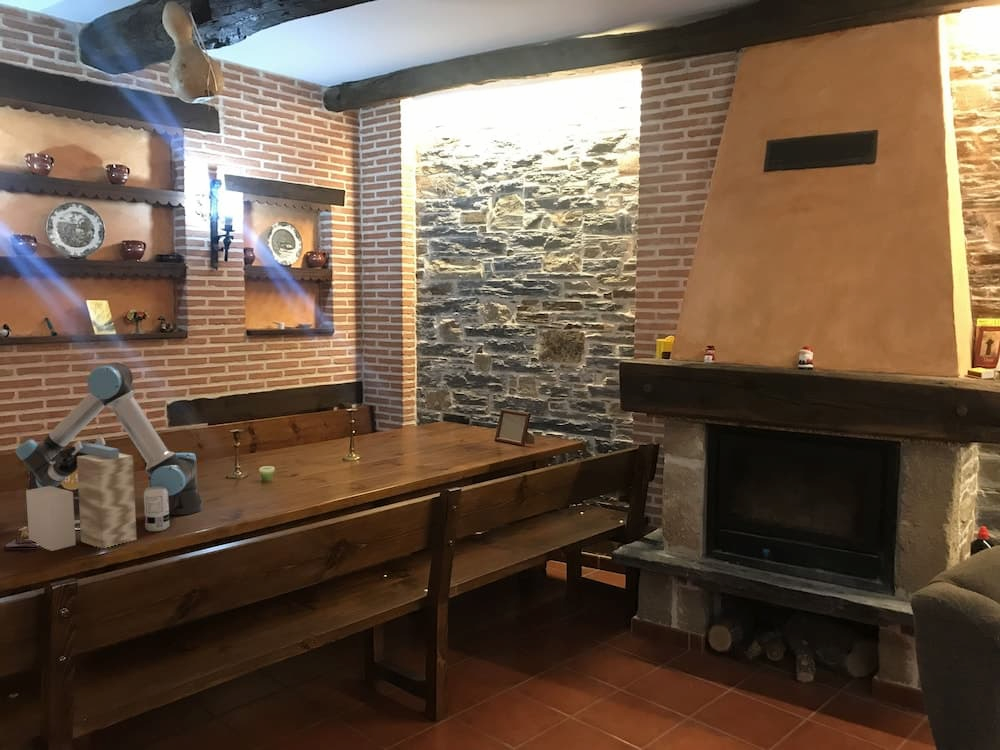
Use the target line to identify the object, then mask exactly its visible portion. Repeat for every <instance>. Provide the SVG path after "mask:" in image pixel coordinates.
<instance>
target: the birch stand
mask: <svg viewBox="0 0 1000 750" xmlns="http://www.w3.org/2000/svg"><path fill="white" fill-rule="evenodd" d="M134 469H135V468H134V455H133V454H132V455H131V454H126V453H121V452H119V458H114V459H108V458H104V457H99V456H94V455H90V454H89V455H83V456H77V470H76V472H77V486H78V487H77V488H78V507H79V527H80V530H79V531H80V542H82V543H84V544H87V545H89V546H90V545H91V546H93V547H96V546H97V547H96V548H99V547H100V548H99V549H102V548H105V549H108V548H107V547H109V548H112V547H111V546H113V547H115V546H114V545H116V546H119V545H118V544H120V545H122V543H124V544H126V542H127V543H130V541H131V542H134V540H135V541H137V539H138V538H137V524H136V523H137V520H136V519H137V516H136V495H135V492H136V491H135V475H134Z"/></svg>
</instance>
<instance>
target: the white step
mask: <svg viewBox="0 0 1000 750" xmlns="http://www.w3.org/2000/svg"><path fill="white" fill-rule="evenodd" d="M25 495H26V497H25V498H26V511H27V512H26V514H27V515H26V516H27V529H28V531H27V532H28V540H29V539H30V540H32V541H34V542H36V543H38V544H39V545H40V546H41V547H40V548H42V547H43V548H42V549H46V550H47V551H52V552H53V551H59V550H60V549H65V548H69V547H73V546H76V530H75V529H76V526H75V507H74V506H75V505H74V504H75V503H74V492H73V491H71V490H66V489H62V488H59V487H53V486H46V487H41V488H39V487H37V488H31V489H26V490H25Z"/></svg>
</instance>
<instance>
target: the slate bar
mask: <svg viewBox="0 0 1000 750" xmlns="http://www.w3.org/2000/svg"><path fill="white" fill-rule="evenodd" d="M76 442H77V441H76ZM76 442H73V445H74V444H75V443H76ZM80 442H81V444H82V447H83V448H82V449H80V450H79V451H78V452H81V453H85V454H90V455H94V456H99V457H104V458H108V459H114V458H119V453H120V450H119V448H116V447H111V446H106V445H104V446H102V445H97V444H94V443H91V442H87V441H81V440H80ZM78 452H77V453H78Z"/></svg>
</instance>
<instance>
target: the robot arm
mask: <svg viewBox="0 0 1000 750" xmlns="http://www.w3.org/2000/svg"><path fill="white" fill-rule="evenodd" d="M133 381H134V375H133V371H132V370H131V369H130V368H129V366H127V365H125V363H124V364H123V363H121V362H112V363H109V364H105V365H104V364H103V365H101V366H98V367H97V368H95V369H93V370H92V371H91V372H90V373H89V375H88V377H87V382H86V384H87V389H88V391H89V393H88V394H87V395H85V397H84V398H83V399H82V400H81V401H80V402H79V403H78V404H77V405H76V406H75V407H74V408H73V409H72V410H71V411H70V412H69V413H68V414H67V415H66V416H65V417H63V419H62V420H61V421H60V422H59V423H58V424H57V425H56V426H55V427H54V428H53V429H52V430H51V431H50V432H49V433H48V434H47V435H46V436H45V437H44V438H43V439H42V440H41V441H40V442H37V441H35V439H31V438H30V439H29V440H26V441H25V442H23V443H22V444H20V445H19V446H18V447H17V448H16V449H15V452H14V453H15V454H16V455H17V456H18V458H19V460H21V461H22V463H23V464H24V465H25V466H26V467H27V468H28V469H29V470H30V471H31V472H32V473H33V474H34V476H35V477H36V478H35V483H36V486H37V488H41V487H46V486H53V487H56V488H58V486H59V485H61V484H62V483H63V482H65V481H66V479H68V477H69V476H71V475H73V474H74V473H75V472H77V456H83V455H89V454H85V453H81V452H78V451H79V450H80V449H82V448H83V447H82V444H81V440H77V441H76V443H75V442H74V443H75V444H74V443H73V444H72V446H70V447H69V448H67V449H65V448H66V446H67V445H69V443H70V442H71V441H72V440H73V439H75V438H76V437H77V435H78V434H79V433H81V432H82V430H83V429H85V427H87V425H88V424H89V423H90V422H91V421H92V420H93V419H95V417H96V416H97V415H98V414H99V413H100V412H101V411H102V410H103V409H104V408H109V409H111V410H112V412H113V413H114V415H115V416H116V419H118V421H119V422H120V424H121V425H122V427H123V429H124V430H125V432H126V433H127V435H128V436H129V438H130V439H131V441H132V442H133V444H134V446H135V447H136V448H137V450H138V451H139V453H140V455H141V456H142V458H143V459H144V460H145V462H146V467H145V470H146V472H147V474H148V475H149V476H150V487H155V486H163V487H166V489H167V491H168V502H169V516H185V515H190V514H195V513H197V512H198V513H199V512H201V511H202V509H203V503H202V499H201V497H200V493H199V492H198V483H197V482H198V481H197V462H198V461H197V457H196V453H193V452H174V451H170V450H169V449H168V447H166V445H165V443H164V442H163V440H162V438H161V437H160V436H159V434H158V432H157V431H156V429H155V428H154V426H153V425H152V423H151V422H150V420H149V419H148V417H147V416H146V414H145V412H144V410H143V409H142V408H141V406H140V404H139V403H138V401H137V400H136V398H135V397H134V396H135V389H134V387H133V386H132V385H133ZM93 444H97V445H102V446H106V440H105V439H104V436H101V437H100V438H98V439H97V440H96V441H95V442H93ZM64 449H65V450H64ZM56 455H57V456H56ZM55 456H56V457H55ZM53 457H55V458H53Z"/></svg>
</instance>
